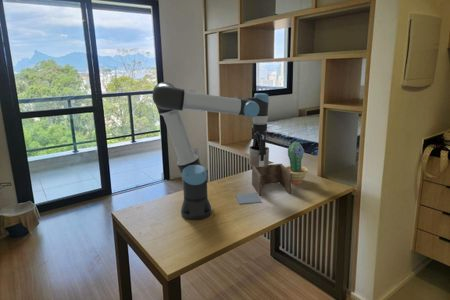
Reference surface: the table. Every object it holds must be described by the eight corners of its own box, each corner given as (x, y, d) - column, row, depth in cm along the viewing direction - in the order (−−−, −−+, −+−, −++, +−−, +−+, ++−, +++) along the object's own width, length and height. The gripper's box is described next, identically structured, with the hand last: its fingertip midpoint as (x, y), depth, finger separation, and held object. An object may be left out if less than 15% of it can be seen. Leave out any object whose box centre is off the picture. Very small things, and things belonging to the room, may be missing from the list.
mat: (239, 204, 166) (239, 203, 166) (235, 195, 177) (235, 194, 177) (261, 202, 167) (261, 201, 167) (256, 193, 179) (256, 192, 179)
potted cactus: (279, 184, 192) (281, 144, 185) (284, 175, 206) (286, 138, 199) (305, 187, 186) (308, 146, 180) (308, 178, 200) (311, 140, 193)
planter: (266, 168, 165) (267, 151, 163) (246, 166, 168) (246, 149, 166) (269, 163, 175) (270, 146, 173) (250, 160, 178) (251, 144, 176)
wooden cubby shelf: (259, 196, 175) (259, 175, 172) (252, 184, 192) (252, 165, 189) (291, 193, 178) (291, 173, 174) (281, 182, 195) (281, 163, 192)
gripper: (273, 127, 155) (271, 169, 161) (261, 119, 177) (259, 156, 183) (259, 127, 154) (257, 170, 160) (248, 119, 176) (246, 157, 182)
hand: (258, 163), depth 171 cm, fingers closed on planter, 11 cm apart
